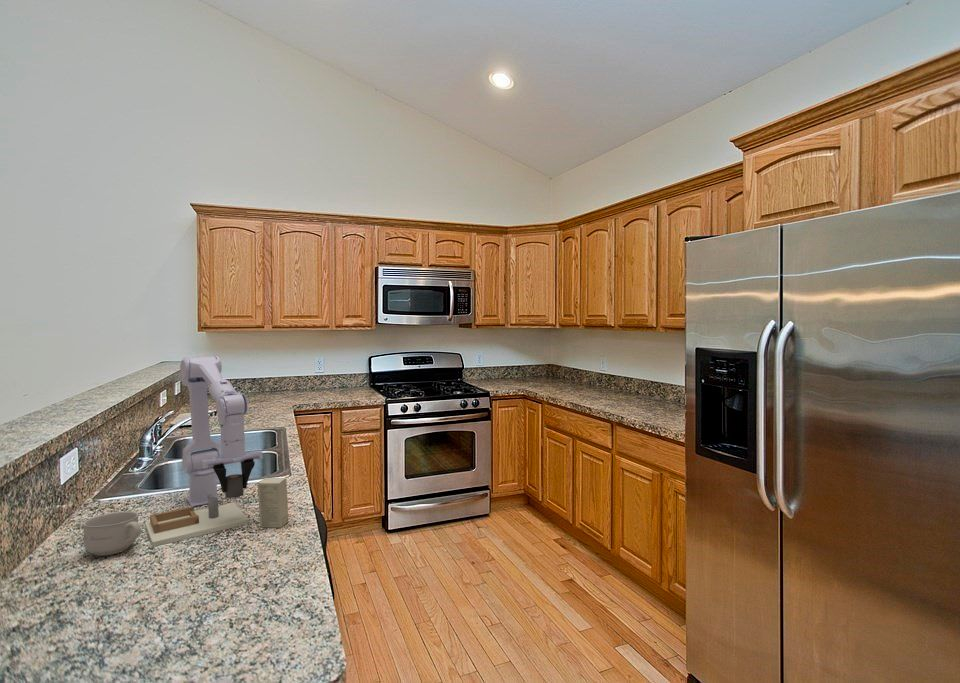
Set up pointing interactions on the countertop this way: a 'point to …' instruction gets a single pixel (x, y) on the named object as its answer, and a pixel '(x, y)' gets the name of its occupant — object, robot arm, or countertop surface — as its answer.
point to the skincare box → (273, 502)
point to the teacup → (111, 532)
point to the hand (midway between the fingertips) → (234, 489)
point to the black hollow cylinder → (234, 486)
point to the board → (193, 522)
